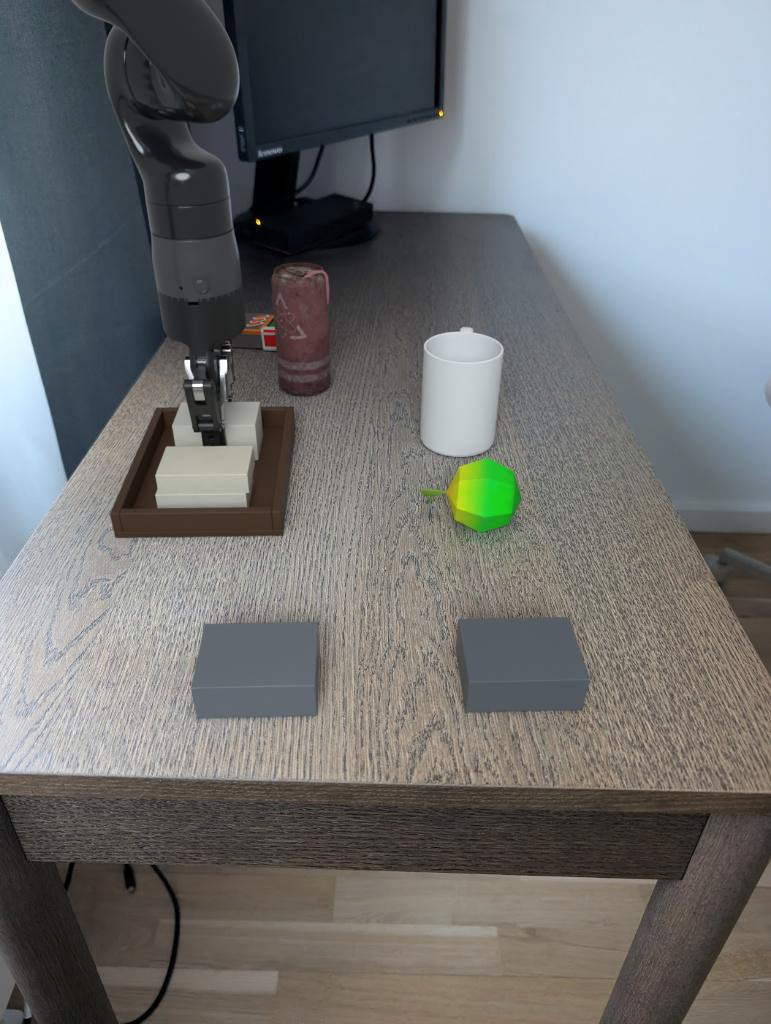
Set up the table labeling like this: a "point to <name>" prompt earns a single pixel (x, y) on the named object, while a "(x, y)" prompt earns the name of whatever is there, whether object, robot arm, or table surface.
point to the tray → (261, 518)
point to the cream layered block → (205, 477)
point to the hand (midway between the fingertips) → (220, 444)
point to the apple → (482, 495)
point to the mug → (460, 392)
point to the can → (301, 327)
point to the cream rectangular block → (238, 428)
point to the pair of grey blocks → (479, 647)
